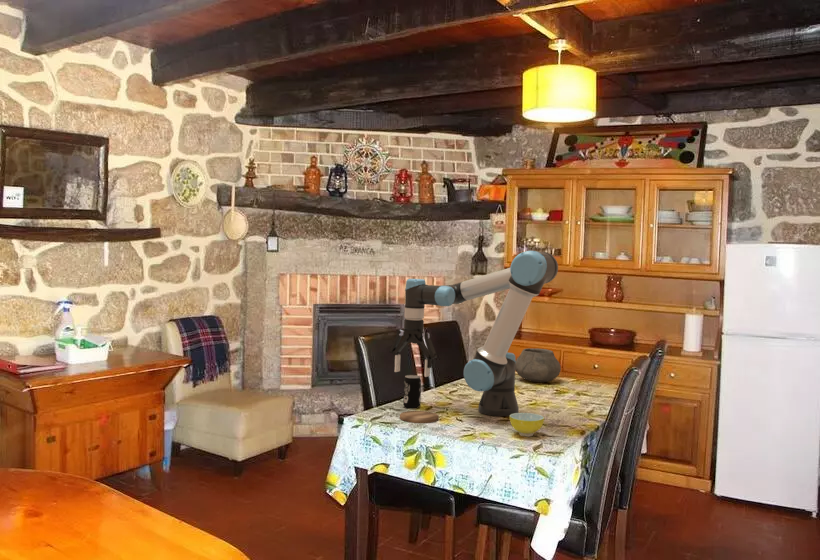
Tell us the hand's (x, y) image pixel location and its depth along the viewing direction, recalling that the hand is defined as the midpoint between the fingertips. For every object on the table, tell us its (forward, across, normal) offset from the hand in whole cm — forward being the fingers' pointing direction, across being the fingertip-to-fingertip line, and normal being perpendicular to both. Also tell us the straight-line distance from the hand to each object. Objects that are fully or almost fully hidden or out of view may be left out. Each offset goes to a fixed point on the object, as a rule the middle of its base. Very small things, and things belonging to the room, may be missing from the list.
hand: (411, 374), depth 271 cm
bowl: (+12, -53, +11) cm, 55 cm away
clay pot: (+13, -17, -86) cm, 89 cm away
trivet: (+13, -13, +14) cm, 23 cm away
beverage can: (+13, -1, 0) cm, 13 cm away
